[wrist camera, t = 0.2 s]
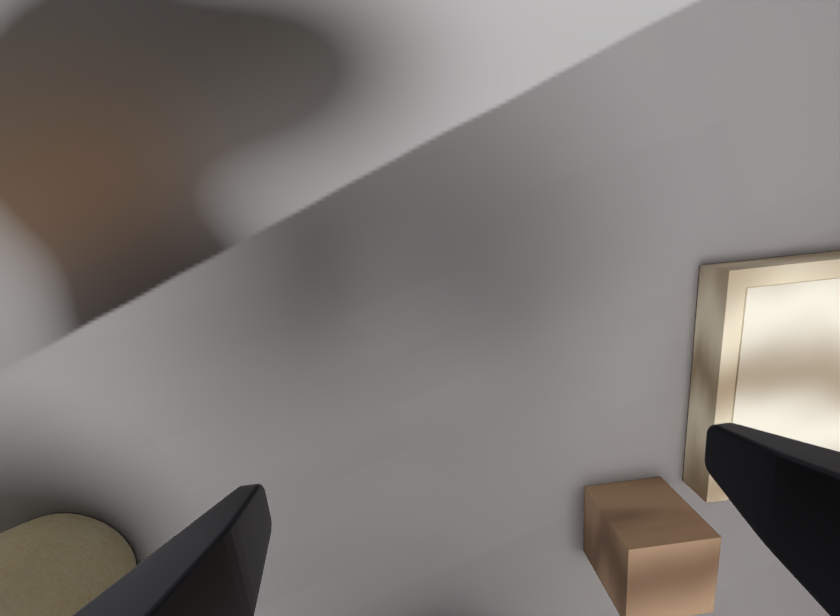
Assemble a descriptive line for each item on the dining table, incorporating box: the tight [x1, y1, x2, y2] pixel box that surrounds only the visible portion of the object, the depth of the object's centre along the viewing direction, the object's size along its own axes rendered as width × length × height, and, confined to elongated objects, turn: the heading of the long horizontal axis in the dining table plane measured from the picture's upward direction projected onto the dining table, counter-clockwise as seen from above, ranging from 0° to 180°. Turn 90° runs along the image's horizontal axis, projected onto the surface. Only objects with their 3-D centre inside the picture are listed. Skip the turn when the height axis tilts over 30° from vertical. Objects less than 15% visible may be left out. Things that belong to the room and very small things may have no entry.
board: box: [683, 251, 840, 503], centre depth 23 cm, size 14×14×2 cm
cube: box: [584, 477, 721, 616], centre depth 24 cm, size 5×5×5 cm
